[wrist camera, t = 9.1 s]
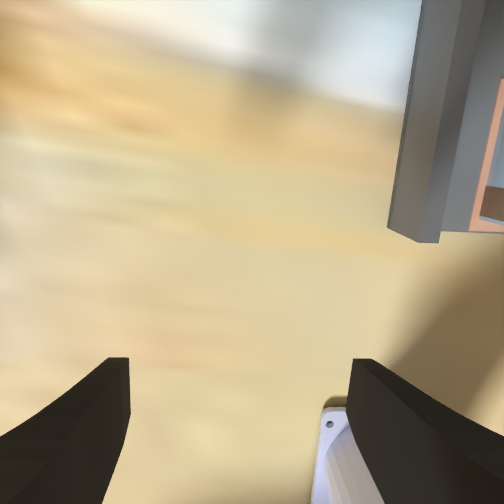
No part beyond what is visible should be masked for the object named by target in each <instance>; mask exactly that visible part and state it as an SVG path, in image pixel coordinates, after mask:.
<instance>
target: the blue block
mask: <svg viewBox="0 0 504 504" xmlns="http://www.w3.org/2000/svg"><path fill="white" fill-rule="evenodd" d="M479 216H480V217H479V219H480V220H484V221H488V222H491V223H495V224H499V225H502V226H504V106H503V111H502V116H501V120H500V125H499V129H498V134H497V139H496V143H495V148H494V153H493V157H492V162H491V166H490V171H489V176H488V180H487V185H486V187H485V191H484V196H483V201H482V205H481V210H480V214H479Z"/></svg>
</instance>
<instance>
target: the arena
mask: <svg viewBox="0 0 504 504" xmlns="http://www.w3.org/2000/svg"><path fill="white" fill-rule="evenodd" d="M503 106H504V0H422V6H421V13H420V19H419V26H418V32H417V38H416V45H415V51H414V58H413V64H412V71H411V77H410V83H409V90H408V96H407V103H406V109H405V115H404V122H403V128H402V135H401V141H400V148H399V154H398V160H397V167H396V173H395V180H394V186H393V192H392V199H391V205H390V212H389V218H388V225H387V228H389V229H391V230H393V231H395V232H397V233H399V234H401V235H403V236H406V237H408V238H410V239H412V240H414V241H416V242H418V243H439V238H440V232H441V231H449V232H475V233H500V234H504V226H502V225H499V224H495V223H491V222H488V221H484V220H480V219H479V217H480V216H479V214H480V210H481V205H482V201H483V196H484V191H485V187H486V185H487V180H488V176H489V171H490V166H491V162H492V157H493V153H494V148H495V143H496V139H497V134H498V129H499V125H500V120H501V116H502V111H503Z"/></svg>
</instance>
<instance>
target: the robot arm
mask: <svg viewBox="0 0 504 504" xmlns="http://www.w3.org/2000/svg"><path fill="white" fill-rule="evenodd" d="M130 415H131V408H130V377H129V358H107V359H106V360H105V361H104V362H102V363H101V364H100V365H99V366H98V367H96V368H95V369H94V370H93V371H92V372H90V373H89V374H88V375H87V376H86V377H84V378H83V379H82V380H81V381H79V382H78V383H77V384H76V385H74V386H73V387H72V388H71V389H70V390H68V391H67V392H66V393H64V394H63V395H62V396H60V397H59V398H58V399H56V400H55V401H53V402H52V403H51V404H49V405H48V406H47V407H45V408H44V409H43V410H41V411H40V412H38V413H37V414H36V415H34V416H33V417H31V418H30V419H28V420H26V421H25V422H23V423H22V424H20V425H19V426H17V427H15V428H14V429H12V430H10V431H9V432H7V433H5V434H4V435H2V436H0V504H102V502H103V499H104V496H105V494H106V491H107V488H108V486H109V483H110V480H111V478H112V475H113V472H114V469H115V467H116V464H117V461H118V458H119V456H120V453H121V450H122V447H123V444H124V440H125V436H126V432H127V428H128V423H129V419H130ZM328 421H332V422H331V423H328V424H327V422H328ZM310 504H504V436H502V435H500V434H498V433H496V432H493V431H491V430H489V429H487V428H485V427H483V426H481V425H479V424H477V423H476V422H474V421H472V420H470V419H468V418H466V417H464V416H462V415H460V414H459V413H457V412H455V411H453V410H452V409H450V408H448V407H447V406H445V405H443V404H441V403H440V402H438V401H436V400H435V399H433V398H432V397H430V396H428V395H427V394H425V393H424V392H422V391H421V390H419V389H417V388H416V387H414V386H413V385H411V384H410V383H408V382H407V381H405V380H404V379H402V378H401V377H399V376H398V375H396V374H395V373H393V372H392V371H390V370H389V369H387V368H386V367H384V366H383V365H381V364H380V363H378V362H376V361H374V360H373V359H353V363H352V370H351V377H350V384H349V390H348V397H347V404H346V407H328V408H326V409H324V410H323V411H322V414H321V422H320V430H319V438H318V445H317V453H316V461H315V469H314V477H313V485H312V493H311V501H310Z"/></svg>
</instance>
